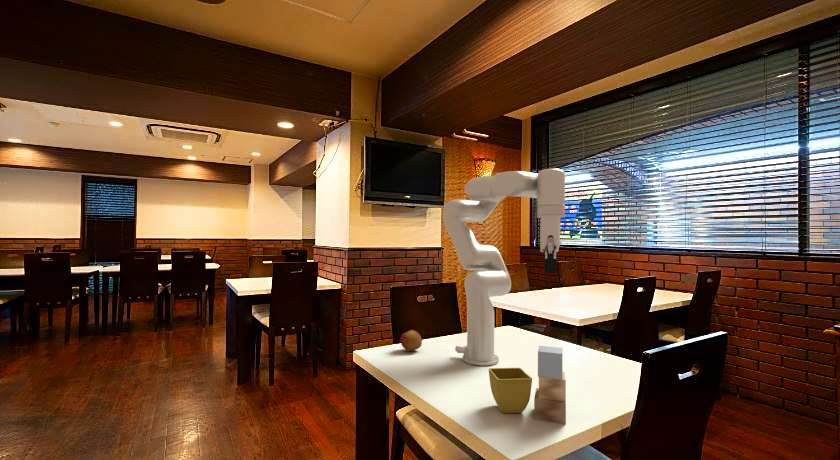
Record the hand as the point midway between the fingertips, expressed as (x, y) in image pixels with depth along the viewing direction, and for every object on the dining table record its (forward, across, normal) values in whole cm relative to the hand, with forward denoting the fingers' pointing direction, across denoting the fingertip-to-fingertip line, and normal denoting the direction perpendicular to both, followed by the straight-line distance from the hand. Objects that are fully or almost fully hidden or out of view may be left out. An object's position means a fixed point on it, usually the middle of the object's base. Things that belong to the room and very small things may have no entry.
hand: (551, 272), depth 111 cm
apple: (+34, -22, -51) cm, 65 cm away
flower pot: (+34, +17, -10) cm, 39 cm away
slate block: (+24, +17, 0) cm, 29 cm away
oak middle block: (+28, +17, 0) cm, 33 cm away
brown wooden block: (+34, +17, 0) cm, 38 cm away
